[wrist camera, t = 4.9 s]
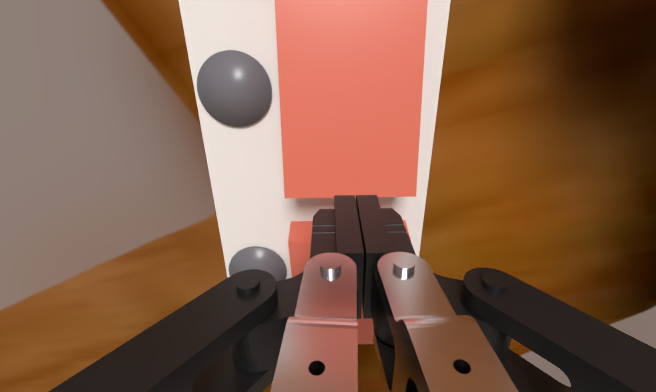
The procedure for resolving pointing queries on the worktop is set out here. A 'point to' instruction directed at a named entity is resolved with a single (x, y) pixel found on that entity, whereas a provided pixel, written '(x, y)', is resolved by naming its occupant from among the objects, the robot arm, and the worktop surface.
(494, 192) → the worktop surface
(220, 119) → the power strip
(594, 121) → the worktop surface
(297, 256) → the rocker
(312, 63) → the rocker middle
